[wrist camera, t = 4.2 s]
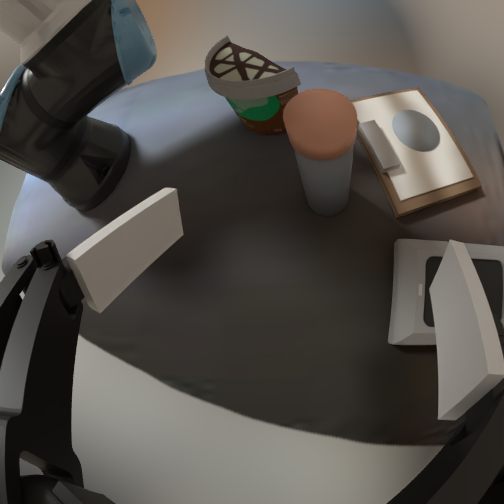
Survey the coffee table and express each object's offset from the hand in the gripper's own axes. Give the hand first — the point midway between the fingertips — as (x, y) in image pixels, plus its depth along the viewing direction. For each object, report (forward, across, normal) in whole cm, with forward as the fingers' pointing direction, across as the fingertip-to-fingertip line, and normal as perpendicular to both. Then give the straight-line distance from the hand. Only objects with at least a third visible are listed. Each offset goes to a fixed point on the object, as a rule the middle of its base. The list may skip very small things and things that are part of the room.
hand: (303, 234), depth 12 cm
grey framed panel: (+12, +15, -10) cm, 21 cm away
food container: (+23, -11, +2) cm, 25 cm away
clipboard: (+22, +8, +2) cm, 24 cm away
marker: (+16, -1, -4) cm, 17 cm away
